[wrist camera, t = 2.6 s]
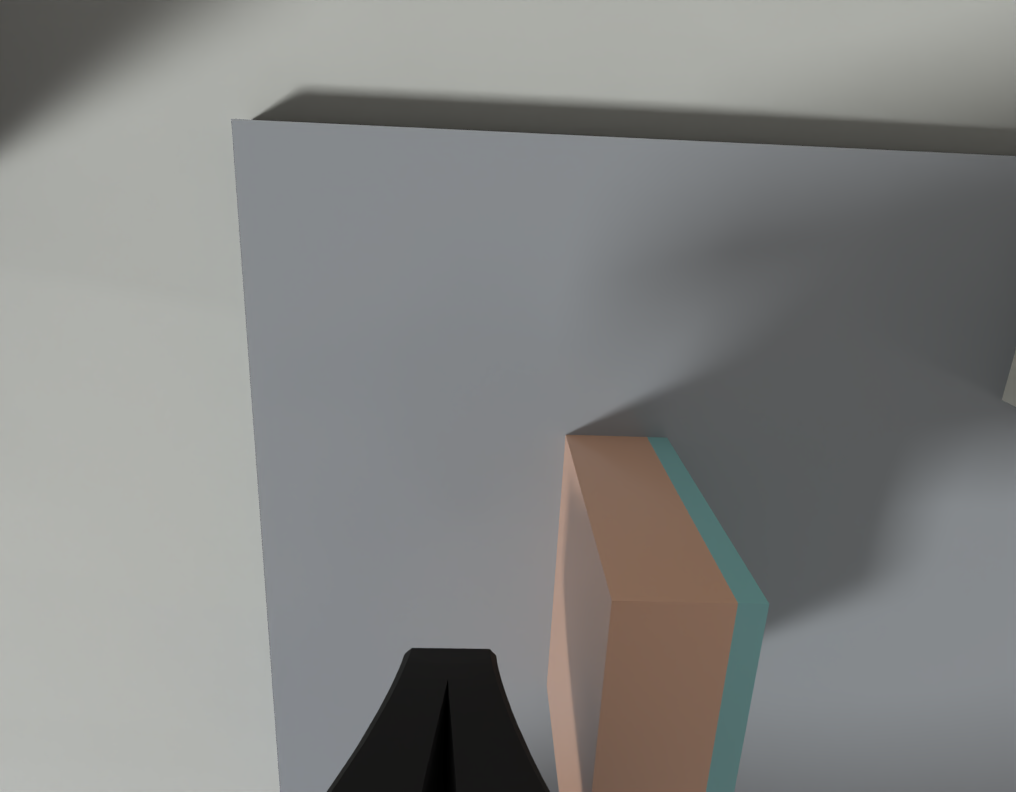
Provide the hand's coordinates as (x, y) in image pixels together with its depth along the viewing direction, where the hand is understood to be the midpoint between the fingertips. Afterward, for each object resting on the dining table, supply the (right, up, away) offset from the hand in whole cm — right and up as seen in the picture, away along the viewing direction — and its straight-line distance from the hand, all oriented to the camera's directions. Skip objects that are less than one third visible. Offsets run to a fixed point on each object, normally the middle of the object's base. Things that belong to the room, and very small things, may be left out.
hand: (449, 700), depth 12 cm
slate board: (+5, +2, +5) cm, 7 cm away
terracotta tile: (+3, +1, +4) cm, 5 cm away
